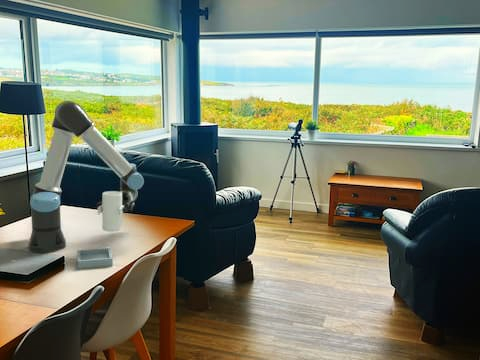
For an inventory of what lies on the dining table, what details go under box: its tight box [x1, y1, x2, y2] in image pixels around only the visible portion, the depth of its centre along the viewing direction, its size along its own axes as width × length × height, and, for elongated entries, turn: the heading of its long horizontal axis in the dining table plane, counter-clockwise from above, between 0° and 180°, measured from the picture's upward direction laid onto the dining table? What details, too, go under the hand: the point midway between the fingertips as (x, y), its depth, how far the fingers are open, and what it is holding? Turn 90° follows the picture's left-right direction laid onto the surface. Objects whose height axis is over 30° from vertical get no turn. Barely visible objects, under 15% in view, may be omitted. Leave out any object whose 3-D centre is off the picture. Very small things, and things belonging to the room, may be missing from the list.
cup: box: [101, 190, 123, 233], centre depth 201 cm, size 8×8×16 cm
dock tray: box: [77, 247, 114, 269], centre depth 188 cm, size 13×13×3 cm
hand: (109, 211), depth 196 cm, fingers closed on cup, 8 cm apart
